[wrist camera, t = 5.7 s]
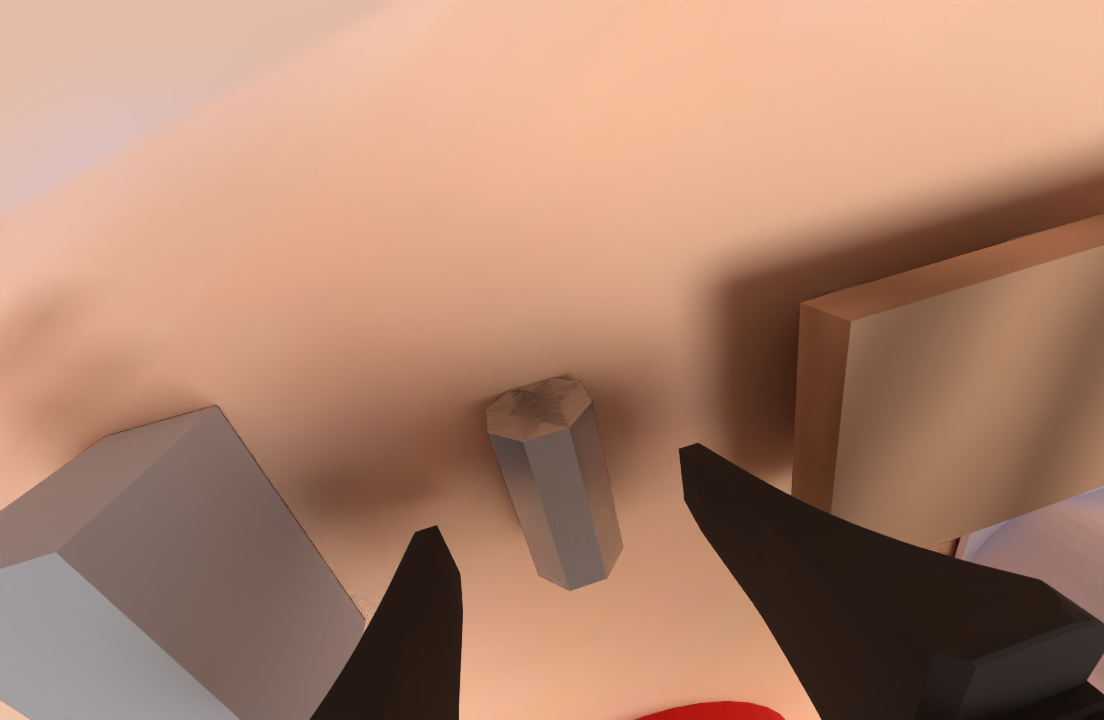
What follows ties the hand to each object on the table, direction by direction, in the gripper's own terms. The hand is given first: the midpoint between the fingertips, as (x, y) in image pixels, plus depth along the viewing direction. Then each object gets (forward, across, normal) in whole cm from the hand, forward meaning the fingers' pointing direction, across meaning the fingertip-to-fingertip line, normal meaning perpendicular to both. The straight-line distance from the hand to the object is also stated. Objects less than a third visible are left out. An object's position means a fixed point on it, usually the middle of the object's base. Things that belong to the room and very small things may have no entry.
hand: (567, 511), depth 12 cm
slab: (0, -15, 0) cm, 15 cm away
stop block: (+3, +10, 0) cm, 10 cm away
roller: (+3, 0, 0) cm, 3 cm away
